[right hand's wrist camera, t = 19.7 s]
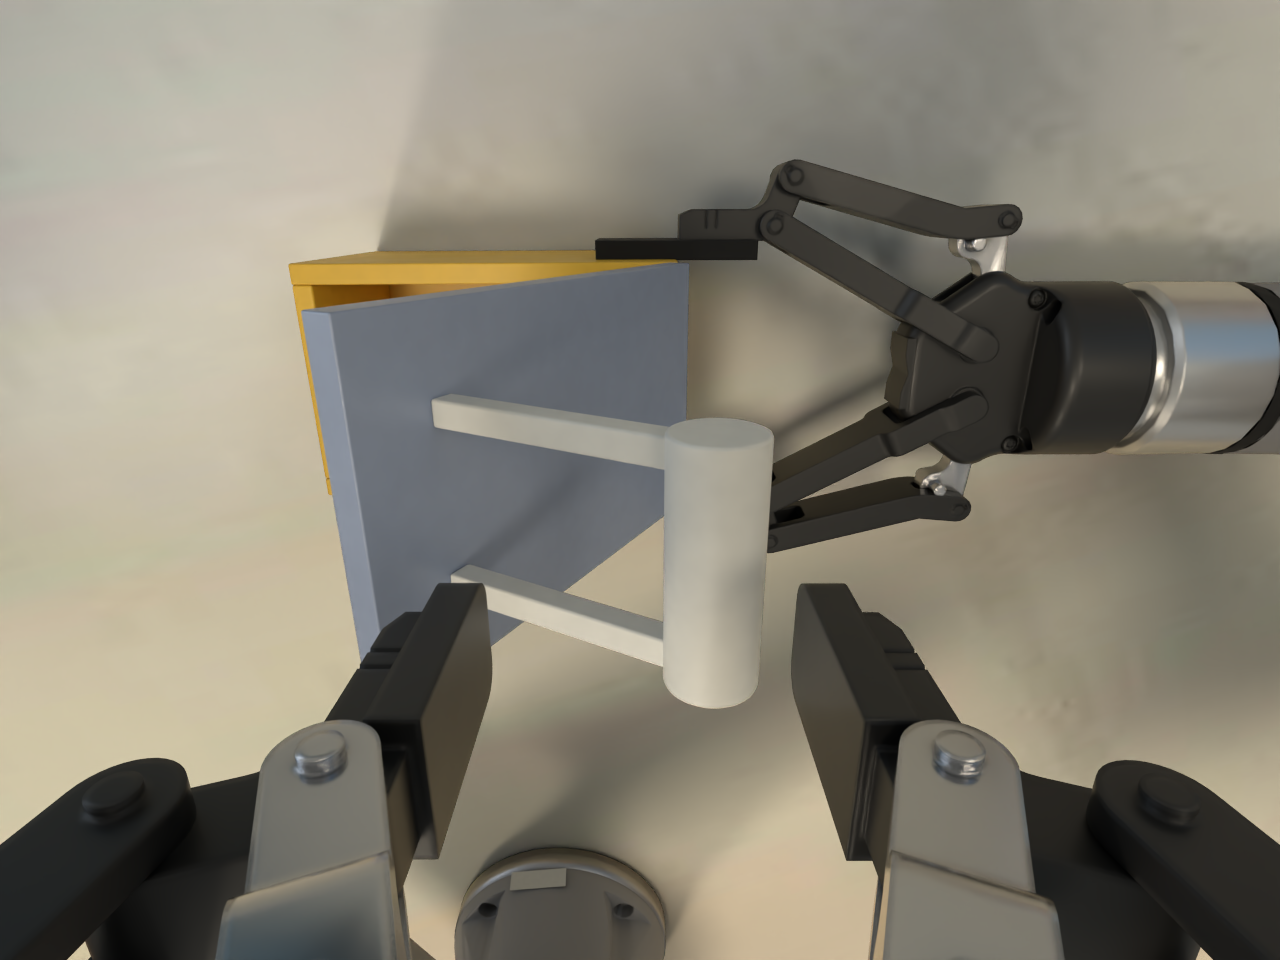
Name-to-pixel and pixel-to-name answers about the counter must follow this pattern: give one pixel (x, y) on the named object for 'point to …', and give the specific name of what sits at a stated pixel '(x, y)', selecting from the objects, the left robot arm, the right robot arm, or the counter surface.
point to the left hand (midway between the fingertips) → (600, 370)
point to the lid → (545, 466)
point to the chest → (427, 279)
